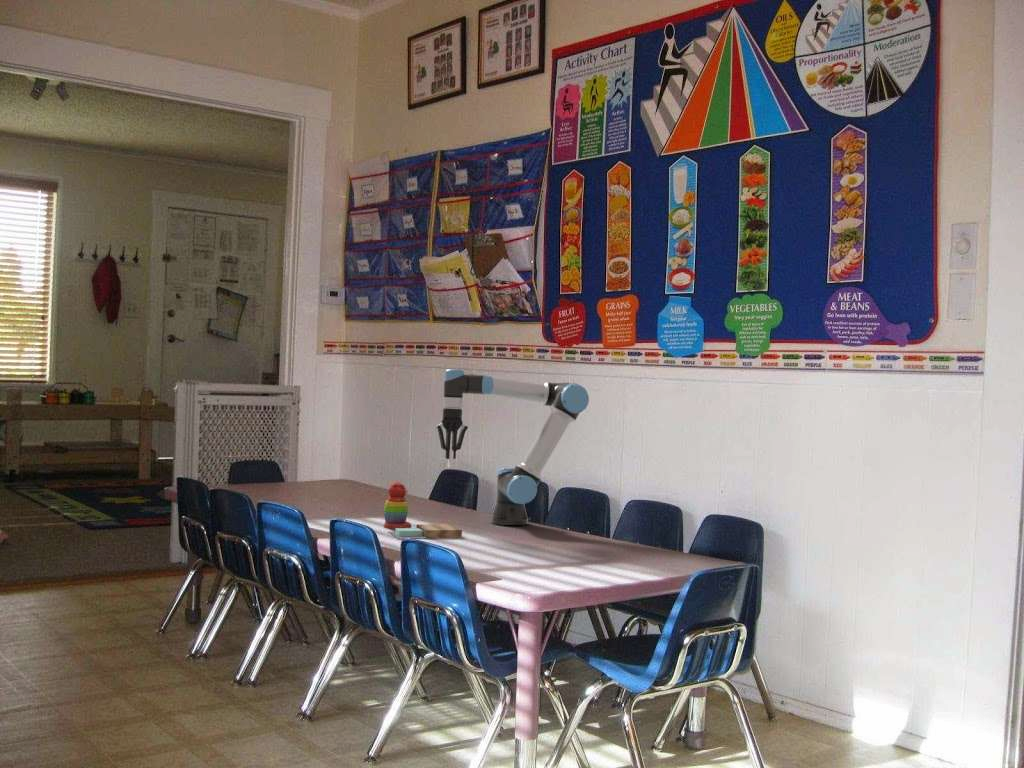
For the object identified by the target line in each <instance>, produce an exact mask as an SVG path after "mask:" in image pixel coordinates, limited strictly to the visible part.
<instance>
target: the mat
mask: <svg viewBox="0 0 1024 768" xmlns="http://www.w3.org/2000/svg"><path fill="white" fill-rule="evenodd" d="M387 533H388V534H390V535H391V536H392V537H394V538H396V539H397V540H405V539H404V538H410V539H409V540H422V539H421V538H424V539H423V540H427V539H428V538H426V537H424V536H423V535H422V536H398V535H397V534H395V530H394V531H390V530H389V531H387ZM401 538H402V539H401Z"/></svg>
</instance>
